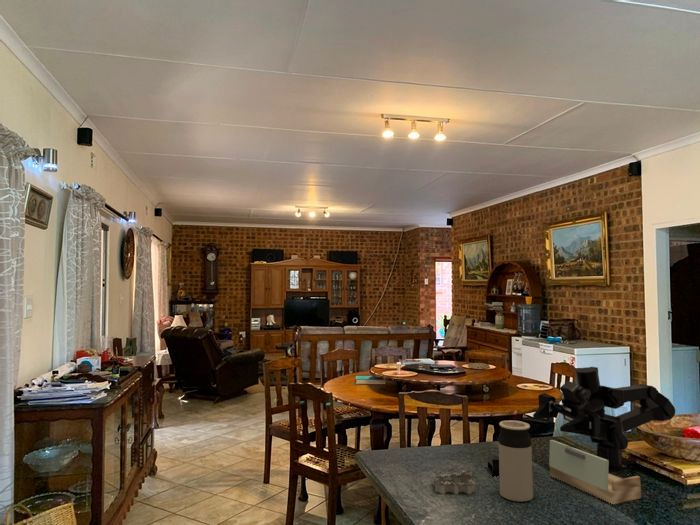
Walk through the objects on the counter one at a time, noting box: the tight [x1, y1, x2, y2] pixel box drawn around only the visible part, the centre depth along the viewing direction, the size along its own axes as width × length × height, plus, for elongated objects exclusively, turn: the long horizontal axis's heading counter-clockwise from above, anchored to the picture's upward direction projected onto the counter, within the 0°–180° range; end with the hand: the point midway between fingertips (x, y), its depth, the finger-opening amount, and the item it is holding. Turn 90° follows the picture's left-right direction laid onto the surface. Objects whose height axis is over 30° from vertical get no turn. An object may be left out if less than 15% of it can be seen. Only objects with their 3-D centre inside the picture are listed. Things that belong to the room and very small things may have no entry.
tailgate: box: [548, 439, 609, 490], centre depth 127 cm, size 2×18×7 cm, turn 22°
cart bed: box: [549, 466, 642, 505], centre depth 129 cm, size 10×20×5 cm, turn 22°
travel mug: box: [498, 419, 534, 503], centre depth 124 cm, size 8×8×18 cm
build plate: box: [482, 454, 499, 478], centre depth 141 cm, size 12×7×5 cm, turn 4°
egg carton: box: [432, 469, 476, 495], centre depth 128 cm, size 11×8×4 cm
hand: (546, 422), depth 134 cm, fingers open, 9 cm apart
